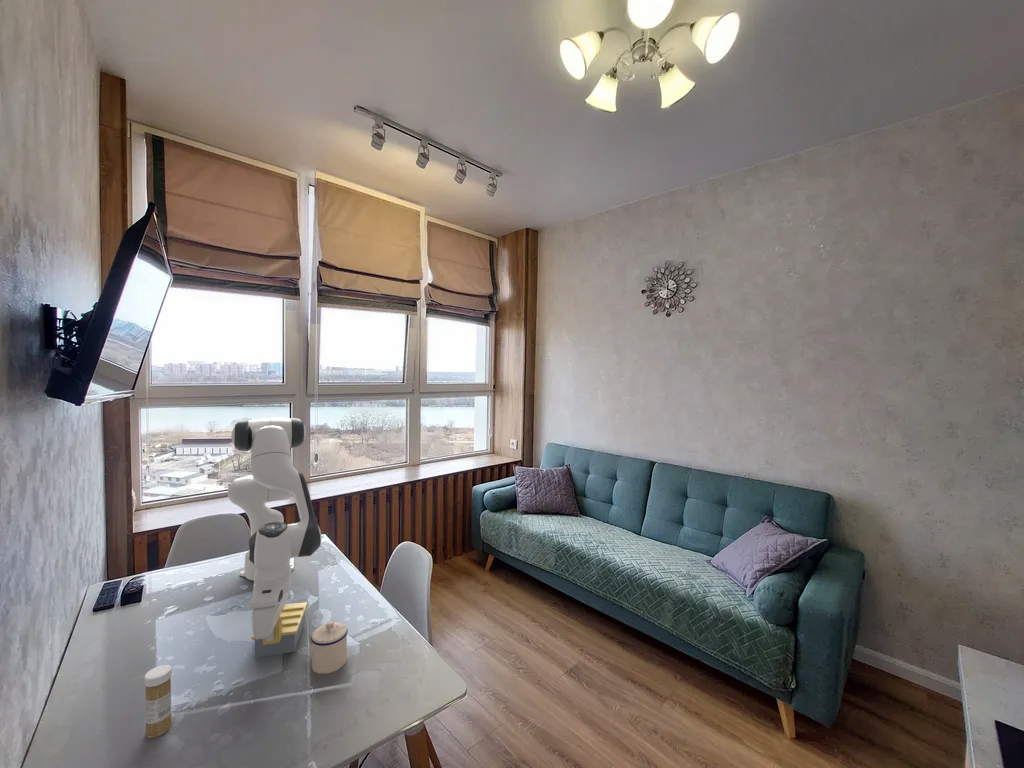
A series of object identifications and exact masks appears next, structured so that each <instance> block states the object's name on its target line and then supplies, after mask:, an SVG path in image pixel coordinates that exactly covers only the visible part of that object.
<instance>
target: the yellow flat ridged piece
mask: <svg viewBox="0 0 1024 768" xmlns="http://www.w3.org/2000/svg"><path fill="white" fill-rule="evenodd" d="M307 606H308V602H307V601H305V602H295V603H286V604H285V606H284V608H283V610H282V612H281V615H280V620H278V621H277V623H276V625H275V627H274V631H275V637H274V639H273V640H272V641H266V639H263V645H265V644H272V643H279V642H280V640H281V638H282V636H284V635H291V634H297V631H298V628H299V626H300V623H301V620H302V618H303V615H304V612H305V613H306V609H307ZM250 638H251V641H255V638H254V636H253V634H252V635H251V637H250Z"/></svg>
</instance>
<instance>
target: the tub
mask: <svg viewBox="0 0 1024 768" xmlns="http://www.w3.org/2000/svg"><path fill="white" fill-rule="evenodd" d="M305 624H306V611H305V612H304V615H303V618H302V620H301V623H300V626H299V628H298V631H297V634H291V635H284V636H282V638H281V640H280V642H279V643H272V644H265V645H263V639H258V640H256V639H255V640H254V648H253V649H254V651H253V652H254V653H253V654H254V655H253V656H254V658H262V657H270V656H275V655H276V656H277V655H283V654H288V653H295V651H296V649H297V646H298V643H299V641H300V639H301V634H302V632H303V630H304V626H305Z"/></svg>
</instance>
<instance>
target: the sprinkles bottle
mask: <svg viewBox="0 0 1024 768" xmlns="http://www.w3.org/2000/svg"><path fill="white" fill-rule="evenodd" d="M172 672H173V670H172V666H171V665H169V664H161V665H158V666H156V667H154V668H151V669H150V670H148V671H147V672H146V674H145V675H144V687H145V701H144V703H145V706H144V707H145V709H144V710H145V737H146V738H148V739H155V738H158V737H160V736H162V735H164V734H165V733H166V732H168V731H169V730H170V729H171V727H172V725H173V721H172V679H171V678H172V675H173V673H172Z"/></svg>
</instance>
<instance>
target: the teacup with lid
mask: <svg viewBox="0 0 1024 768" xmlns="http://www.w3.org/2000/svg"><path fill="white" fill-rule="evenodd" d="M348 633H349V632H348V627H347V625H346V624H345V623H342V622H338V621H332V620H329V621H328V620H327V622H326V623H323V624H322V625H320V626H318V627H317V628H316V629H314V631H313V632H311V633H310V634H309V644H310V647H311V669H312V671H313V672H314V673H316V674H320V675H326V674H330V673H334V672H336V671H338V670H340V669H341V668H343V666H344V665H345V663H346V662H347V643H348V639H347V637H348V636H347V634H348Z"/></svg>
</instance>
